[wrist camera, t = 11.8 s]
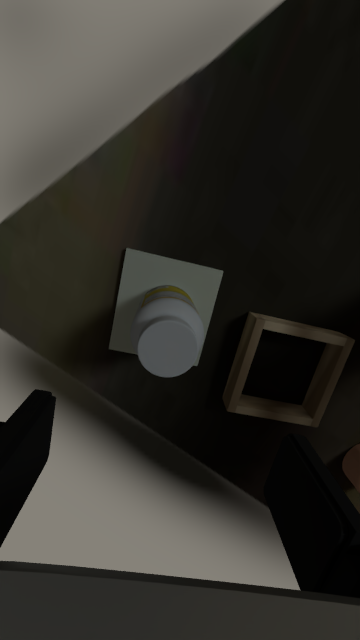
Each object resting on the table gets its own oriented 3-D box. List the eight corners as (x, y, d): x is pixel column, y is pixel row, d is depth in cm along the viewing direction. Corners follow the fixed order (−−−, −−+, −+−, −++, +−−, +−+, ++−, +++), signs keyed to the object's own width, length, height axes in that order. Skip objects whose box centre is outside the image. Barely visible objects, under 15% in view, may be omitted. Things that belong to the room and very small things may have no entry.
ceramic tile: (222, 270, 31) (223, 271, 31) (196, 364, 34) (197, 366, 34) (127, 247, 30) (126, 248, 29) (109, 347, 33) (108, 348, 32)
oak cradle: (339, 331, 34) (355, 340, 31) (305, 412, 37) (317, 427, 34) (249, 311, 33) (257, 318, 30) (222, 397, 36) (227, 411, 33)
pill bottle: (161, 347, 33) (159, 403, 22) (127, 305, 31) (105, 342, 20) (205, 316, 32) (226, 358, 21) (172, 271, 30) (177, 291, 19)
